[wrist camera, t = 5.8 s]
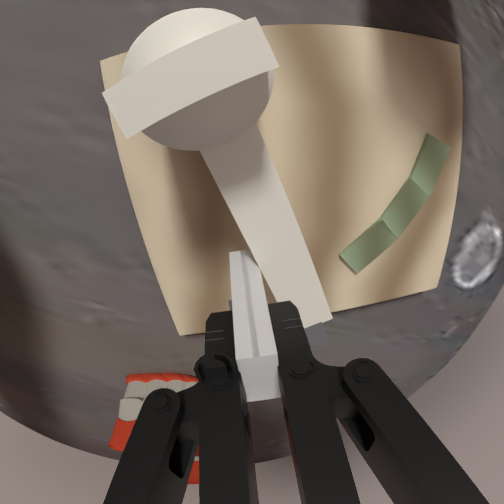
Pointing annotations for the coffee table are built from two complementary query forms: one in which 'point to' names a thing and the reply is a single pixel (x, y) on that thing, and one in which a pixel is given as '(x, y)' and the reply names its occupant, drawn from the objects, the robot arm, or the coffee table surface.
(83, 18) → the coffee table surface
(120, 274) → the coffee table surface
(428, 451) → the robot arm
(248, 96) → the lever
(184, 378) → the toy
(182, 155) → the board
